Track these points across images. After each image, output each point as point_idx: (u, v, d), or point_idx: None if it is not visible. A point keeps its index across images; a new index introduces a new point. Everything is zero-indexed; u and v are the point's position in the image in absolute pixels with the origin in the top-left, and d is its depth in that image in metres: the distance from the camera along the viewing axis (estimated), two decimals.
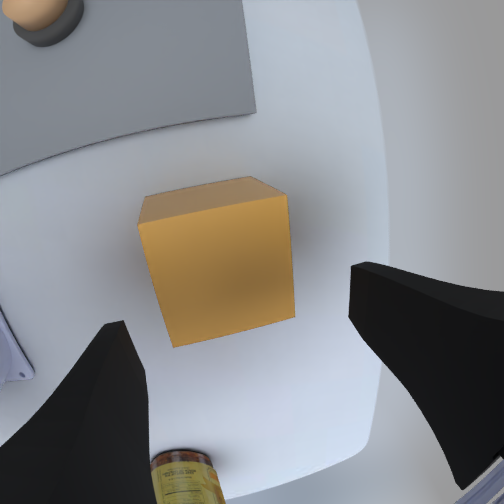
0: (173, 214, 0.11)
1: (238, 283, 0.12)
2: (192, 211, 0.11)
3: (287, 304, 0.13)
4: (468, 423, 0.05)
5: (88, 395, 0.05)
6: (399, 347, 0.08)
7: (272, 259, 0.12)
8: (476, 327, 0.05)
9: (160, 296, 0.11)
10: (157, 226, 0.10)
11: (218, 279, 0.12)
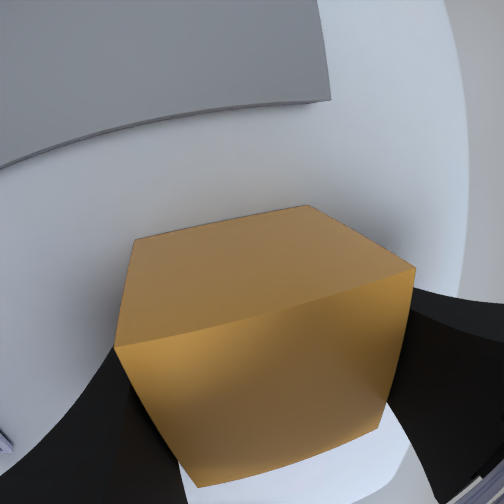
0: (194, 319, 0.05)
1: (311, 413, 0.06)
2: (236, 314, 0.05)
3: (372, 418, 0.07)
4: (446, 439, 0.05)
5: (125, 390, 0.05)
6: None
7: (370, 372, 0.06)
8: (453, 341, 0.05)
9: (174, 445, 0.05)
10: (159, 350, 0.04)
11: (279, 415, 0.06)
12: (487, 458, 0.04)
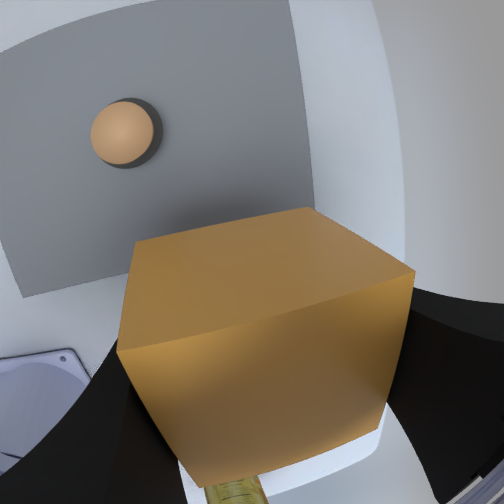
0: (195, 323, 0.05)
1: (311, 415, 0.06)
2: (237, 319, 0.05)
3: (372, 419, 0.07)
4: (446, 439, 0.05)
5: (125, 390, 0.05)
6: None
7: (369, 374, 0.06)
8: (454, 342, 0.05)
9: (176, 446, 0.05)
10: (161, 354, 0.04)
11: (279, 417, 0.06)
12: (488, 458, 0.04)
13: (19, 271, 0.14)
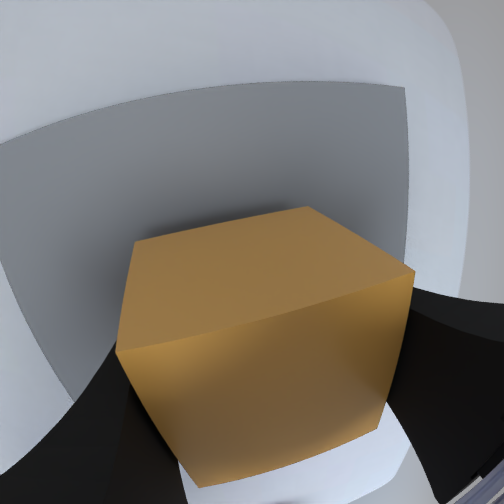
0: (194, 323, 0.05)
1: (310, 414, 0.06)
2: (236, 319, 0.05)
3: (372, 419, 0.07)
4: (446, 439, 0.05)
5: (125, 390, 0.05)
6: None
7: (368, 374, 0.06)
8: (454, 341, 0.05)
9: (175, 446, 0.05)
10: (160, 354, 0.04)
11: (279, 417, 0.06)
12: (488, 458, 0.04)
13: None
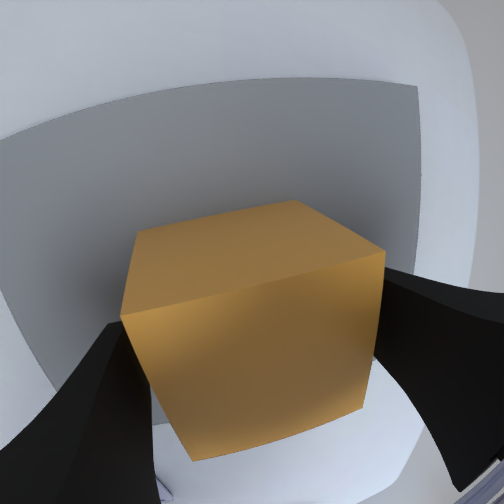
0: (188, 292, 0.06)
1: (295, 386, 0.07)
2: (224, 288, 0.06)
3: (356, 397, 0.08)
4: (465, 425, 0.05)
5: (93, 394, 0.05)
6: (396, 348, 0.08)
7: (348, 348, 0.07)
8: (474, 329, 0.05)
9: (171, 413, 0.06)
10: (158, 318, 0.05)
11: (265, 386, 0.07)
12: None
13: None
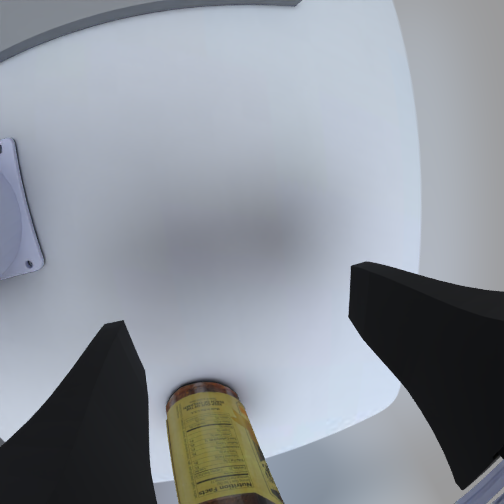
0: None
1: None
2: None
3: None
4: (468, 422, 0.05)
5: (88, 395, 0.05)
6: (399, 347, 0.08)
7: None
8: (476, 326, 0.05)
9: None
10: None
11: None
12: None
13: None
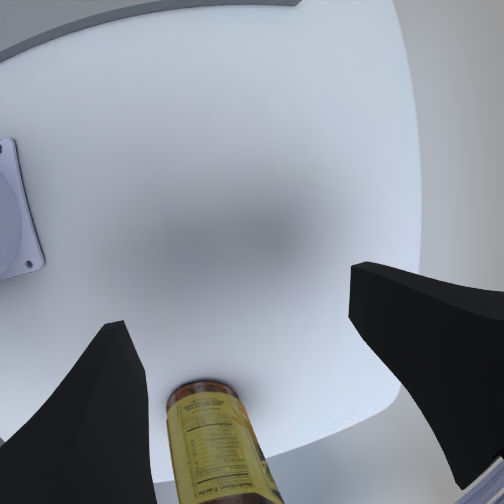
0: None
1: None
2: None
3: None
4: (468, 422, 0.05)
5: (88, 395, 0.05)
6: (399, 347, 0.08)
7: None
8: (476, 326, 0.05)
9: None
10: None
11: None
12: None
13: None
